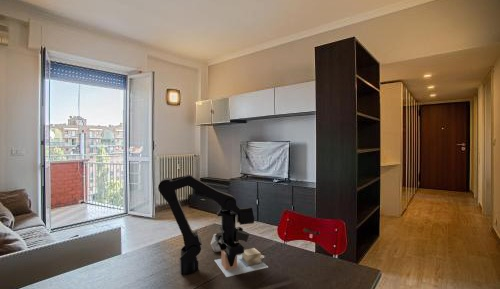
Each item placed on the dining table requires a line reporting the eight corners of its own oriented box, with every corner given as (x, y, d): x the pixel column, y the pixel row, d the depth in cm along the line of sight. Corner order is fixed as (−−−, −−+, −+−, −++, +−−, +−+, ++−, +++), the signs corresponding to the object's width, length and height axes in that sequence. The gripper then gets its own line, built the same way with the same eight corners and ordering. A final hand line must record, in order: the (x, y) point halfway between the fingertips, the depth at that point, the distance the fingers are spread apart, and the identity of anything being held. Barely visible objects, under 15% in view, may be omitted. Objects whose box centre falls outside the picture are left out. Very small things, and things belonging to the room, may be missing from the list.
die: (206, 252, 126) (207, 240, 120) (216, 238, 133) (217, 225, 127) (222, 260, 124) (224, 248, 118) (231, 245, 131) (233, 233, 125)
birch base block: (247, 265, 108) (247, 255, 108) (242, 259, 114) (241, 250, 114) (260, 262, 111) (260, 253, 111) (254, 256, 116) (254, 247, 116)
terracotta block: (225, 269, 105) (225, 254, 105) (221, 264, 110) (221, 250, 110) (237, 267, 107) (236, 252, 107) (232, 262, 112) (232, 248, 112)
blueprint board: (226, 279, 99) (226, 276, 99) (214, 262, 114) (214, 260, 114) (268, 269, 107) (268, 267, 107) (251, 254, 121) (251, 252, 121)
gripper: (256, 229, 103) (256, 269, 103) (238, 217, 120) (238, 251, 120) (229, 233, 98) (229, 275, 99) (214, 220, 115) (215, 256, 116)
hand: (229, 263), depth 108 cm, fingers closed on terracotta block, 5 cm apart
